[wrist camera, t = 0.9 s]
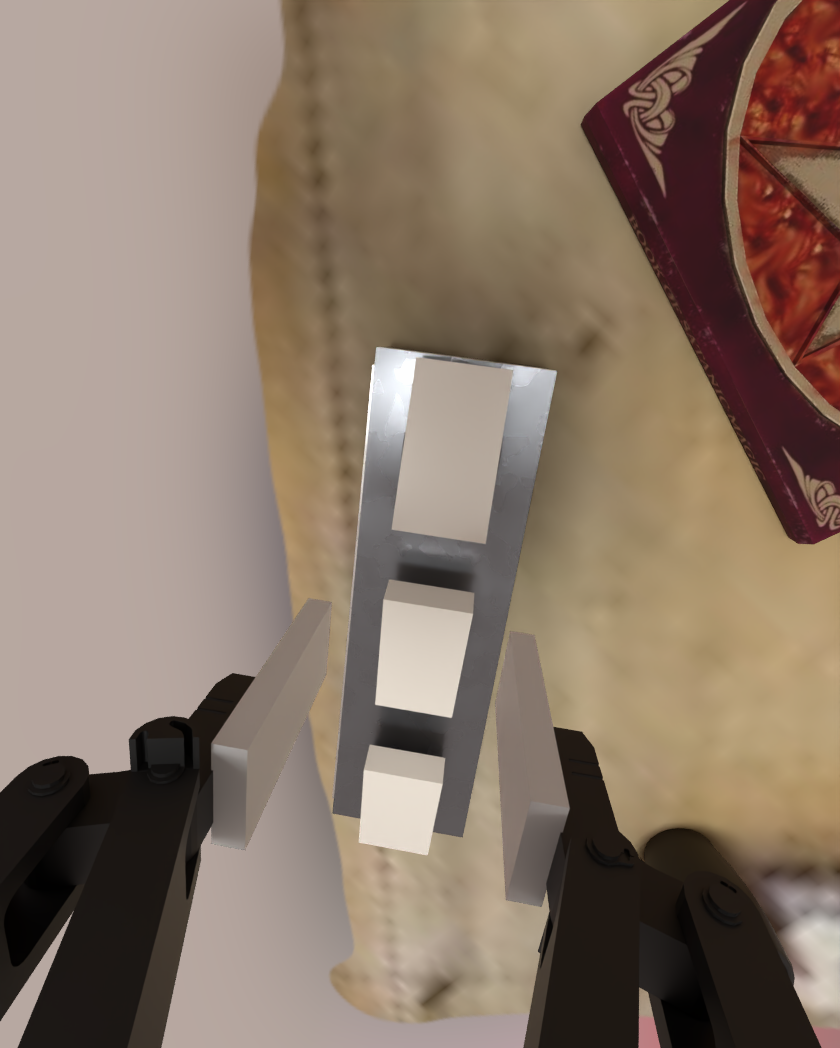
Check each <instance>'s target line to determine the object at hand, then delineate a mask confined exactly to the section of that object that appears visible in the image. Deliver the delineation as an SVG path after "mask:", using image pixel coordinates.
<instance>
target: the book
mask: <svg viewBox="0 0 840 1048" xmlns="http://www.w3.org/2000/svg"><path fill="white" fill-rule="evenodd" d="M581 126H582V128H583V130H584V132H585V134H586V135H587V137H588V139H589V141H590V143H591V145H592V147H593V149H594V151H595V153H596V155H597V157H598V159H599V161H600V163H601V165H602V167H603V169H604V171H605V173H606V175H607V177H608V179H609V181H610V183H611V185H612V187H613V189H614V191H615V193H616V195H617V197H618V199H619V201H620V203H621V205H622V207H623V209H624V211H625V213H626V215H627V217H628V219H629V221H630V223H631V225H632V227H633V229H634V231H635V233H636V235H637V237H638V239H639V241H640V243H641V245H642V247H643V249H644V251H645V253H646V255H647V257H648V259H649V261H650V263H651V265H652V267H653V269H654V271H655V273H656V275H657V276H658V278H659V280H660V282H661V284H662V286H663V288H664V290H665V292H666V294H667V296H668V298H669V300H670V302H671V304H672V306H673V308H674V310H675V312H676V314H677V316H678V318H679V320H680V322H681V324H682V326H683V328H684V330H685V332H686V334H687V336H688V338H689V340H690V342H691V344H692V346H693V348H694V350H695V352H696V354H697V356H698V358H699V360H700V362H701V364H702V366H703V368H704V370H705V372H706V374H707V376H708V378H709V380H710V382H711V384H712V386H713V388H714V390H715V392H716V394H717V396H718V398H719V400H720V402H721V404H722V406H723V408H724V410H725V412H726V414H727V416H728V418H729V419H730V421H731V423H732V425H733V427H734V429H735V431H736V433H737V435H738V437H739V439H740V441H741V443H742V445H743V447H744V449H745V451H746V453H747V455H748V457H749V459H750V461H751V463H752V465H753V467H754V469H755V471H756V473H757V475H758V477H759V479H760V481H761V483H762V485H763V487H764V489H765V491H766V493H767V495H768V497H769V499H770V501H771V503H772V505H773V507H774V509H775V511H776V513H777V515H778V517H779V519H780V521H781V523H782V525H783V527H784V529H785V531H786V533H787V535H788V537H789V538H790V539H792V540H793V541H795V542H796V543H798V544H815V543H817V542H820V541H822V540H824V539H826V538H828V537H830V536H833V535H835V534H837V533H839V532H840V0H729V1H728V2H727V3H725V4H724V5H723V6H722V7H720V8H719V9H718V10H716V11H715V12H714V13H712V14H711V15H710V16H709V17H707V18H706V19H705V20H703V21H702V22H701V23H700V24H698V25H697V26H696V27H694V28H693V29H692V30H690V31H689V32H688V33H687V34H685V35H684V36H683V37H681V38H680V39H679V40H678V41H676V42H675V43H674V44H672V45H671V46H670V47H668V48H667V49H666V50H665V51H663V52H662V53H661V54H659V55H658V56H657V57H656V58H654V59H653V60H652V61H650V62H649V63H648V64H647V65H645V66H644V67H643V68H641V69H640V70H639V71H637V72H636V73H635V74H634V75H632V76H631V77H630V78H628V79H627V80H626V81H625V82H623V83H622V84H621V85H619V86H618V87H617V88H615V89H614V90H613V91H612V92H610V93H609V94H608V95H606V96H605V97H604V98H603V99H601V100H600V101H599V102H597V103H596V104H595V105H594V106H593V108H592V109H591V110H590V111H589V112H588V113H587V114H586V115H585V116H584V119H583V121H582V123H581Z"/></svg>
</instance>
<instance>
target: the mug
mask: <svg viewBox="0 0 840 1048" xmlns="http://www.w3.org/2000/svg"><path fill="white" fill-rule="evenodd" d="M644 859H645V863H646V864H647V865H649V866H651V867H653V868H655V869H656V870H658V871H661V872H663V873H665V874H667V875H669V876H671V877H673V878H676V879H678V880H680V881H682V882H685V880H686V878H687V876H688V875H689V874H691V873H693V872H695V871H709V872H712V873H715V874H717V875H720V876H723V877H725V878H726V879H728V880H729V881H731V882H732V883H734V884H735V885H737V886H738V887H739V888H740V889H741V890H742V891H743V892H744V893H745V894H746V895H747V896H748V897H749V898H750V899H751V900H752V901H753V903H754V905H755V906H756V908H757V909H758V911H759V912H760V914H761V916H762V919H763V921H764V923H765V925H766V927H767V930H768V932H769V934H770V936H771V938H772V941H773V943H774V945H775V947H776V949H777V951H778V954H779V956H780V958H781V960H782V962H783V965H784V967H785V969H786V971H787V973H788V976H789V978H790V980H791V982H792V984H793V985H794V978H795V977H794V972H793V968H792V964H791V962H790V961H789V959H788V957H787V955H786V953H785V951H784V949H783V947H782V945H781V943H780V941H779V939H778V937H777V935H776V933H775V931H774V929H773V928H772V926H771V924H770V922H769V920H768V918H767V917H766V915H765V913H764V912H763V910H762V908H761V907H760V905H759V904H758V902H757V901H756V899H755V897H754V896H753V894H752V893H751V892H750V890H749V889H748V887H747V886H746V885H745V883H744V882H743V881H742V879H741V878H740V877H739V876H738V874H737V873H736V872H735V871H734V869H733V868H732V867H731V866H730V865H729V864H728V862H727V861H726V860H725V859H724V858H723V857H722V856H721V855H720V853H719V852H718V851H717V850H716V849H715V848H714V847H713V845H712V844H711V843H710V841H709V840H708V839H707V838H706V837H704V836H703V835H701V834H700V833H698V832H695V831H692V830H687V829H672V830H667V831H664V832H661V833H659V834H658V835H656V836H654V837H653V838H652V839H651V840H650V841H649V843H648V844H647V846H646V849H645V852H644Z"/></svg>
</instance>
